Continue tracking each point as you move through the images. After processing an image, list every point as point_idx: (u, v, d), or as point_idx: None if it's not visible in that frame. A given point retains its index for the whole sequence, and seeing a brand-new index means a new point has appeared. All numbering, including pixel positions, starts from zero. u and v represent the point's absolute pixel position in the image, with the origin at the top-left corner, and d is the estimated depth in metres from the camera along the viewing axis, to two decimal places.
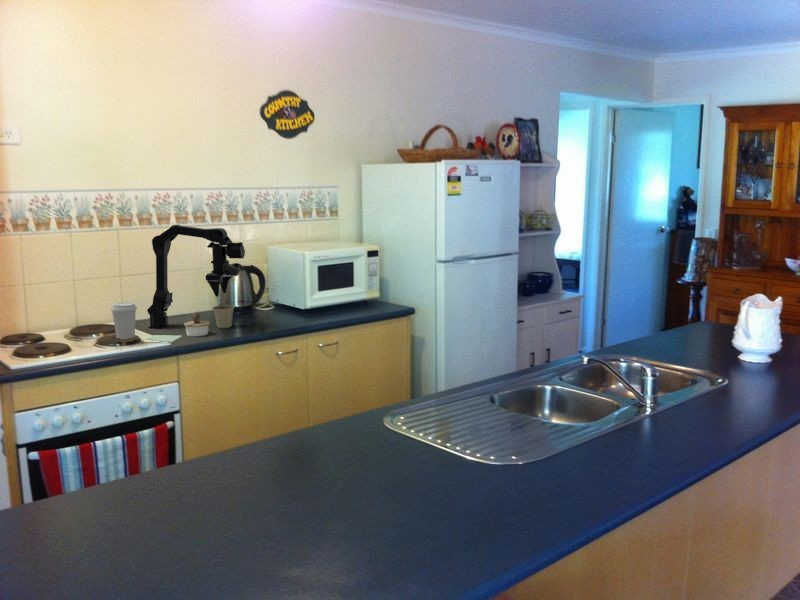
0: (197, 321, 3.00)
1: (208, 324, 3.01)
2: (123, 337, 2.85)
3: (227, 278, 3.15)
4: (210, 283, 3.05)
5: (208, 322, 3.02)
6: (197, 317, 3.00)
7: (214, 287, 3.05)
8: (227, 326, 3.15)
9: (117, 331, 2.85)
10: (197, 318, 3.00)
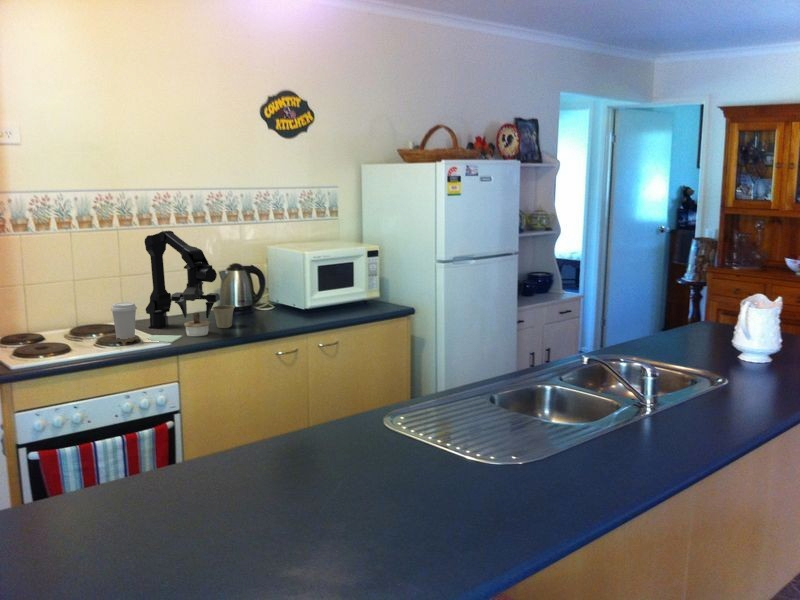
0: (197, 321, 3.00)
1: (208, 324, 3.01)
2: (123, 337, 2.85)
3: None
4: None
5: (208, 322, 3.02)
6: (197, 317, 3.00)
7: None
8: (227, 326, 3.15)
9: (117, 331, 2.85)
10: (197, 318, 3.00)
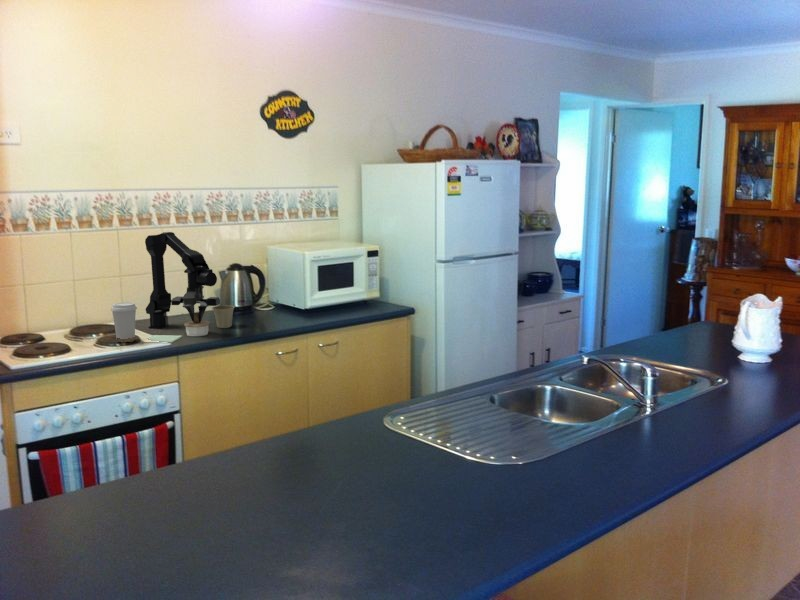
0: (197, 321, 3.00)
1: (208, 324, 3.01)
2: (123, 337, 2.85)
3: None
4: None
5: (208, 322, 3.02)
6: (197, 317, 3.00)
7: None
8: (227, 326, 3.15)
9: (117, 331, 2.85)
10: (197, 318, 3.00)
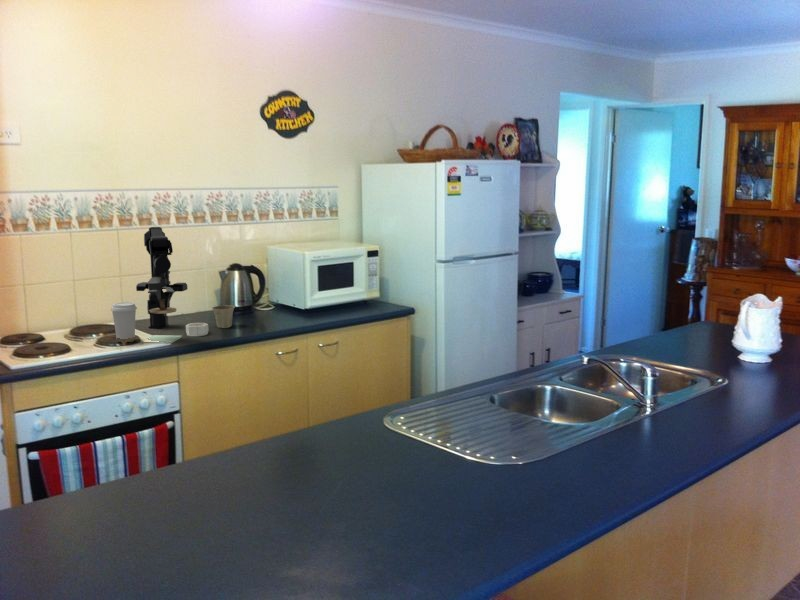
0: (163, 307, 2.89)
1: (175, 311, 2.90)
2: (123, 337, 2.85)
3: None
4: None
5: (175, 309, 2.91)
6: (163, 303, 2.89)
7: None
8: (227, 326, 3.15)
9: (117, 331, 2.85)
10: (163, 304, 2.89)
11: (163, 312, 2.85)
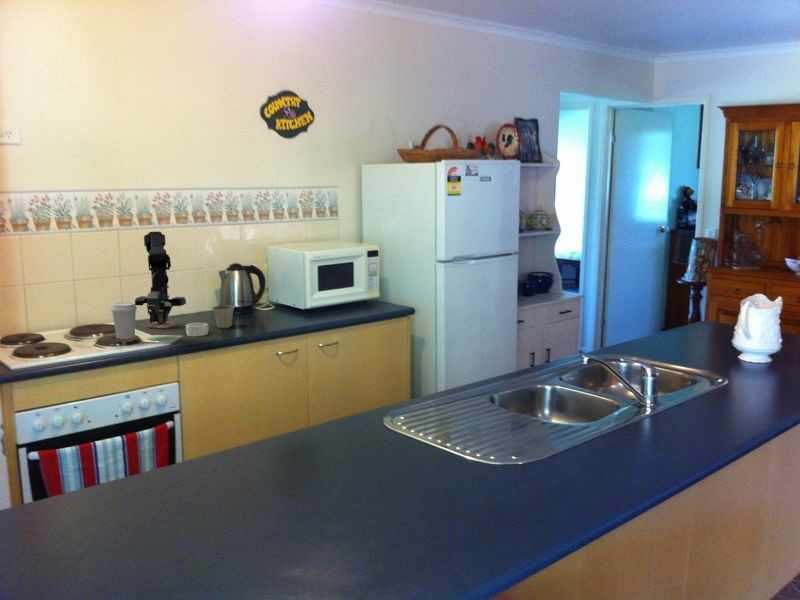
0: (162, 322, 2.89)
1: (173, 325, 2.90)
2: (123, 337, 2.85)
3: None
4: None
5: (173, 323, 2.91)
6: (162, 318, 2.89)
7: None
8: (227, 326, 3.15)
9: (117, 331, 2.85)
10: (162, 319, 2.89)
11: (161, 326, 2.86)
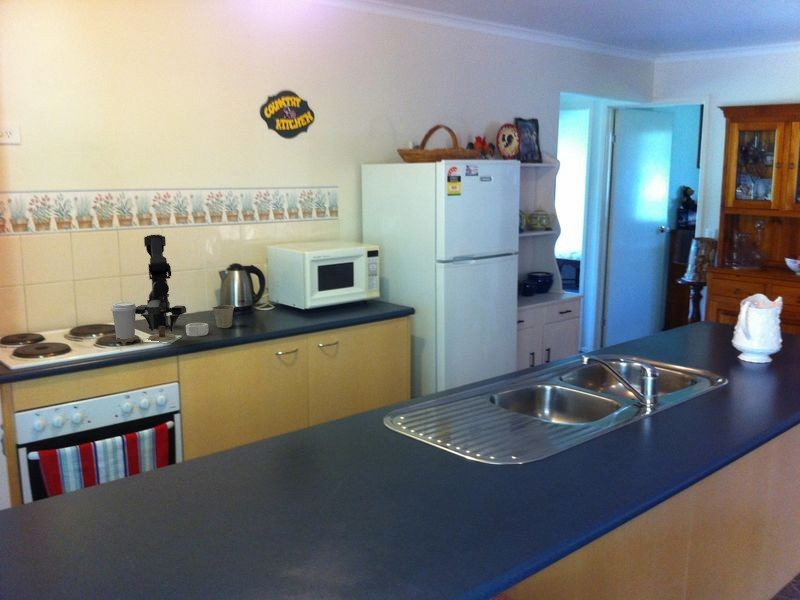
0: (162, 335, 2.90)
1: (174, 338, 2.91)
2: (123, 337, 2.85)
3: None
4: None
5: (174, 335, 2.92)
6: (162, 330, 2.90)
7: None
8: (227, 326, 3.15)
9: (117, 331, 2.85)
10: (162, 331, 2.90)
11: (162, 339, 2.87)
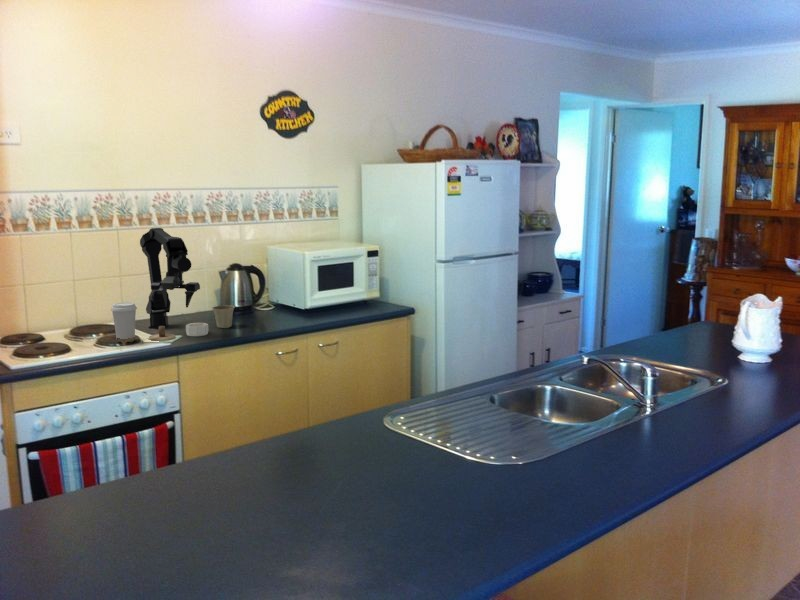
0: (162, 335, 2.90)
1: (174, 338, 2.91)
2: (123, 337, 2.85)
3: None
4: None
5: (174, 335, 2.92)
6: (162, 330, 2.90)
7: None
8: (227, 326, 3.15)
9: (117, 331, 2.85)
10: (162, 331, 2.90)
11: (162, 339, 2.87)
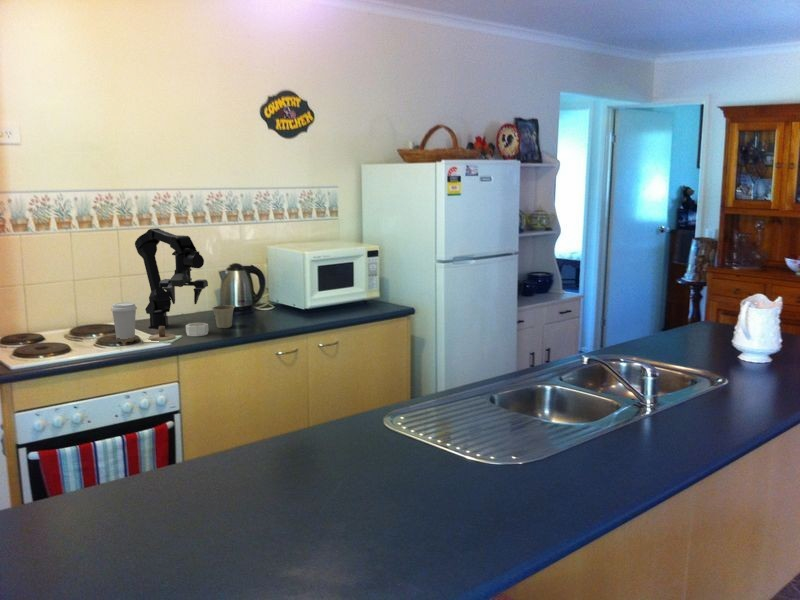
0: (162, 334, 2.90)
1: (174, 338, 2.91)
2: (123, 337, 2.85)
3: None
4: None
5: (174, 335, 2.92)
6: (162, 330, 2.90)
7: None
8: (227, 326, 3.15)
9: (117, 331, 2.85)
10: (162, 331, 2.90)
11: (162, 339, 2.87)
